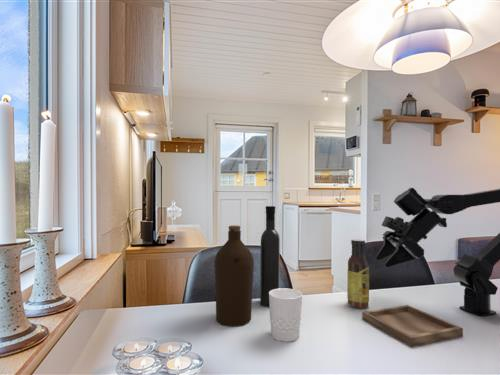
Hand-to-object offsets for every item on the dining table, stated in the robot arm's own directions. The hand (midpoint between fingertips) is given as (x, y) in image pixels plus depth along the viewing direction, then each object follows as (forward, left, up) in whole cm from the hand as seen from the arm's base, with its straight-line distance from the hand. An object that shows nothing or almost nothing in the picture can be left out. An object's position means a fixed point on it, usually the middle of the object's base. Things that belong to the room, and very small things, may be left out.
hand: (381, 262), depth 92 cm
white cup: (+36, +8, -13) cm, 39 cm away
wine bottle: (+31, -13, -13) cm, 36 cm away
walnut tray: (+4, +14, -13) cm, 20 cm away
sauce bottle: (+6, -3, -13) cm, 15 cm away
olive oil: (+45, -5, -13) cm, 47 cm away
